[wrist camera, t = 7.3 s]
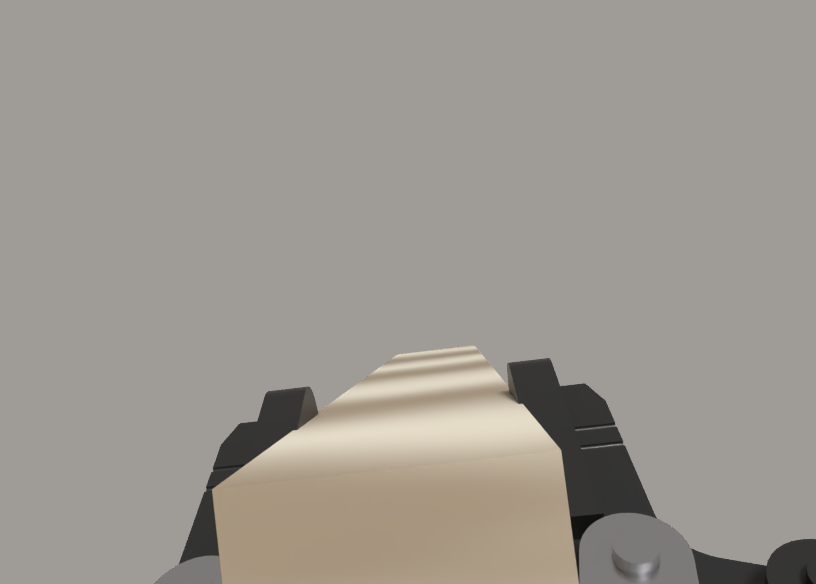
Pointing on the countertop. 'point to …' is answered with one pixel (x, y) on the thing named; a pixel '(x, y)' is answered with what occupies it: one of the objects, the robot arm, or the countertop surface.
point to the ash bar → (404, 487)
